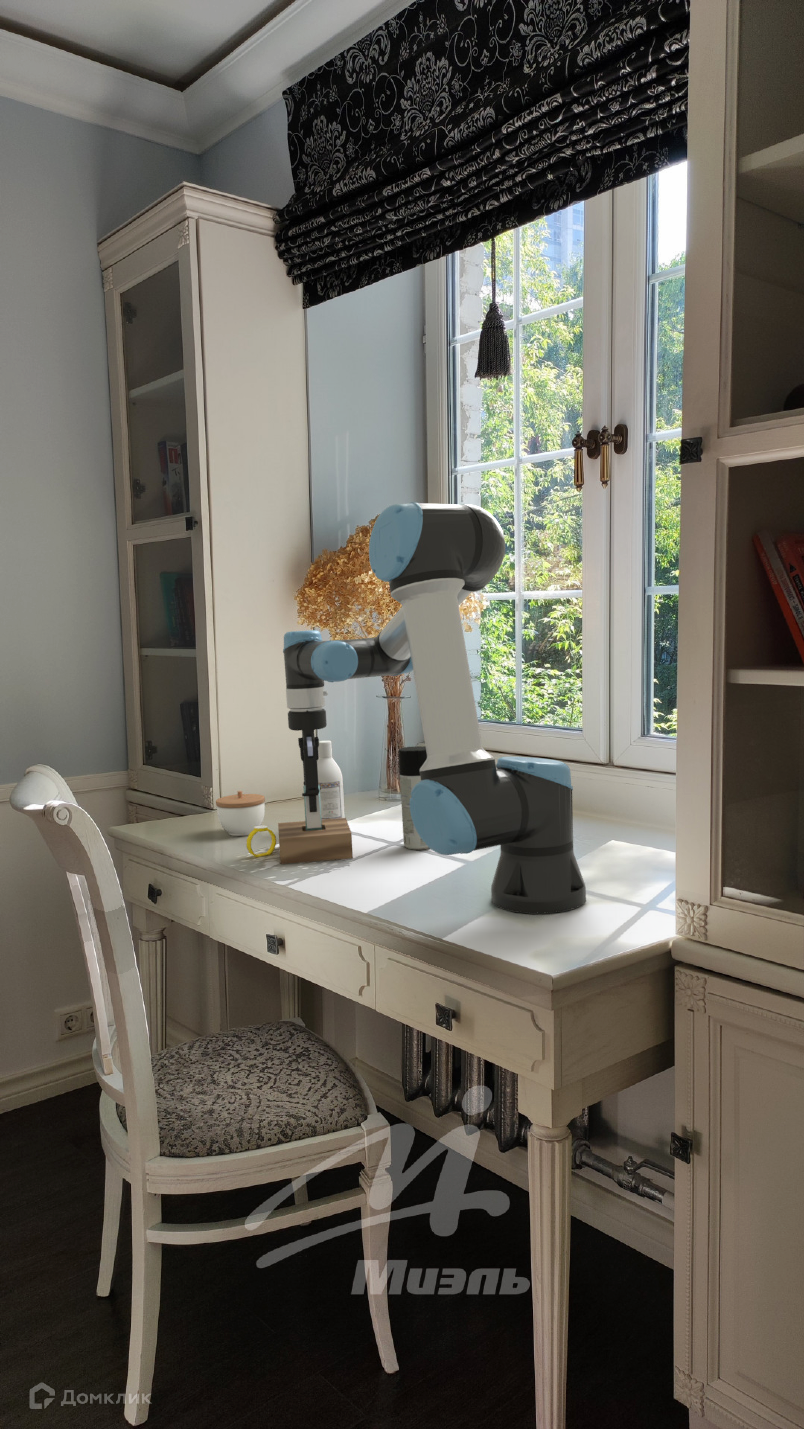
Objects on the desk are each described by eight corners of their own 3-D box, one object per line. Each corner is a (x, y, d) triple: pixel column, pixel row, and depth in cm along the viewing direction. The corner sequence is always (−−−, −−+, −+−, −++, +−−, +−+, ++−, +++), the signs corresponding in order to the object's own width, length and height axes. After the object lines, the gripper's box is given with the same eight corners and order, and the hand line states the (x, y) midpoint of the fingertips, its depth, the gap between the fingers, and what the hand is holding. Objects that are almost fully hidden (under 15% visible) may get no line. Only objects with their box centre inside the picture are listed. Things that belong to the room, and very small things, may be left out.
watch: (271, 853, 197) (271, 824, 196) (278, 855, 194) (278, 826, 194) (244, 856, 193) (244, 827, 193) (251, 859, 191) (251, 829, 190)
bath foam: (321, 827, 216) (315, 739, 214) (350, 828, 214) (345, 739, 211) (308, 835, 209) (303, 743, 207) (338, 836, 207) (333, 743, 205)
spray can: (433, 850, 191) (429, 750, 189) (400, 850, 192) (395, 751, 190) (439, 842, 197) (434, 745, 195) (406, 842, 199) (402, 746, 197)
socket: (352, 858, 188) (351, 832, 188) (280, 864, 186) (278, 838, 186) (347, 841, 202) (345, 817, 201) (279, 846, 200) (278, 823, 200)
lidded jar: (209, 837, 212) (206, 795, 211) (232, 826, 222) (230, 786, 221) (253, 839, 208) (250, 796, 207) (275, 827, 218) (272, 786, 217)
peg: (307, 847, 192) (303, 787, 191) (306, 843, 195) (303, 785, 194) (323, 846, 193) (319, 786, 191) (322, 842, 196) (318, 783, 194)
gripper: (328, 711, 184) (335, 832, 186) (323, 704, 199) (329, 815, 202) (288, 714, 183) (295, 836, 185) (286, 706, 198) (293, 818, 201)
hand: (313, 825), depth 194 cm, fingers closed on peg, 3 cm apart
